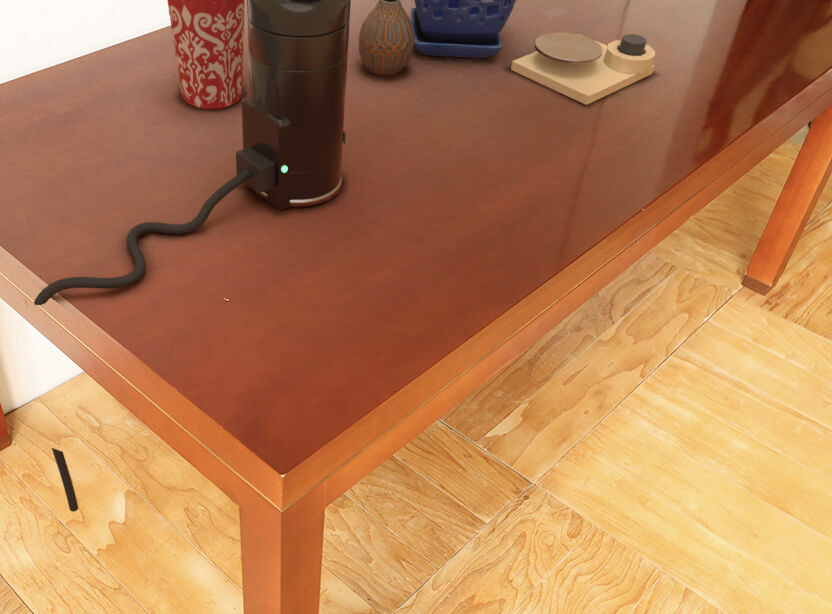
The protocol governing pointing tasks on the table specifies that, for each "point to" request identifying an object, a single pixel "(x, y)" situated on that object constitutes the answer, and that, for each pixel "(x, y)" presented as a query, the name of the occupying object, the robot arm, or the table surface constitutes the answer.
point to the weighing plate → (568, 47)
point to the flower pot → (459, 27)
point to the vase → (386, 38)
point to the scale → (587, 72)
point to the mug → (209, 50)
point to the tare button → (632, 45)
